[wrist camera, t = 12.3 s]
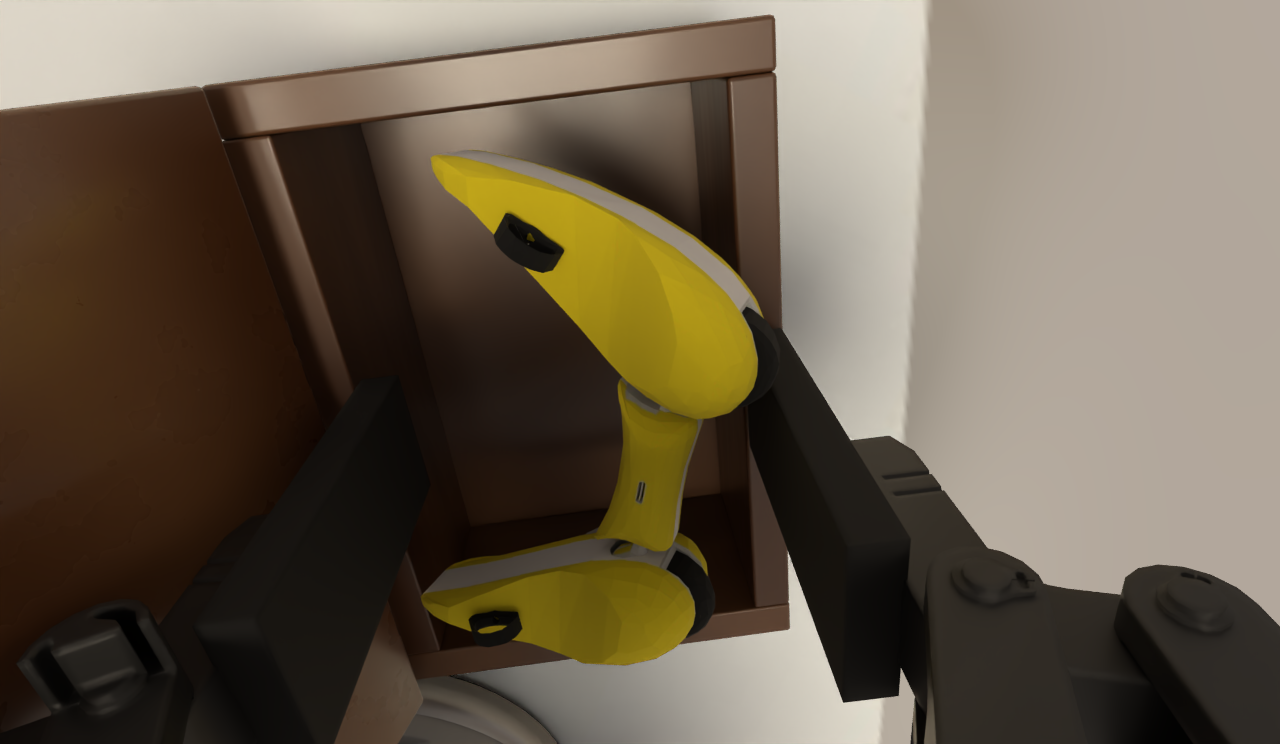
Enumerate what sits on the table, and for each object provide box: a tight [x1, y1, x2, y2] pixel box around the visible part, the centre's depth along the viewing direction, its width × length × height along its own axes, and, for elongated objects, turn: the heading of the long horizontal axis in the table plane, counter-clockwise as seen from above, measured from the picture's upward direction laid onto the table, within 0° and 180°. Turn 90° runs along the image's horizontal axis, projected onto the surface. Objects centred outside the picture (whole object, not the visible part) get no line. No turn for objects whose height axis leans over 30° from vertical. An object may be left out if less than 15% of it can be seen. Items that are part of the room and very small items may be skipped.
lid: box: [0, 86, 423, 744], centre depth 10 cm, size 11×14×1 cm
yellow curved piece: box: [421, 150, 780, 665], centre depth 14 cm, size 10×6×4 cm, turn 171°
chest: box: [202, 15, 790, 680], centre depth 17 cm, size 10×14×6 cm
